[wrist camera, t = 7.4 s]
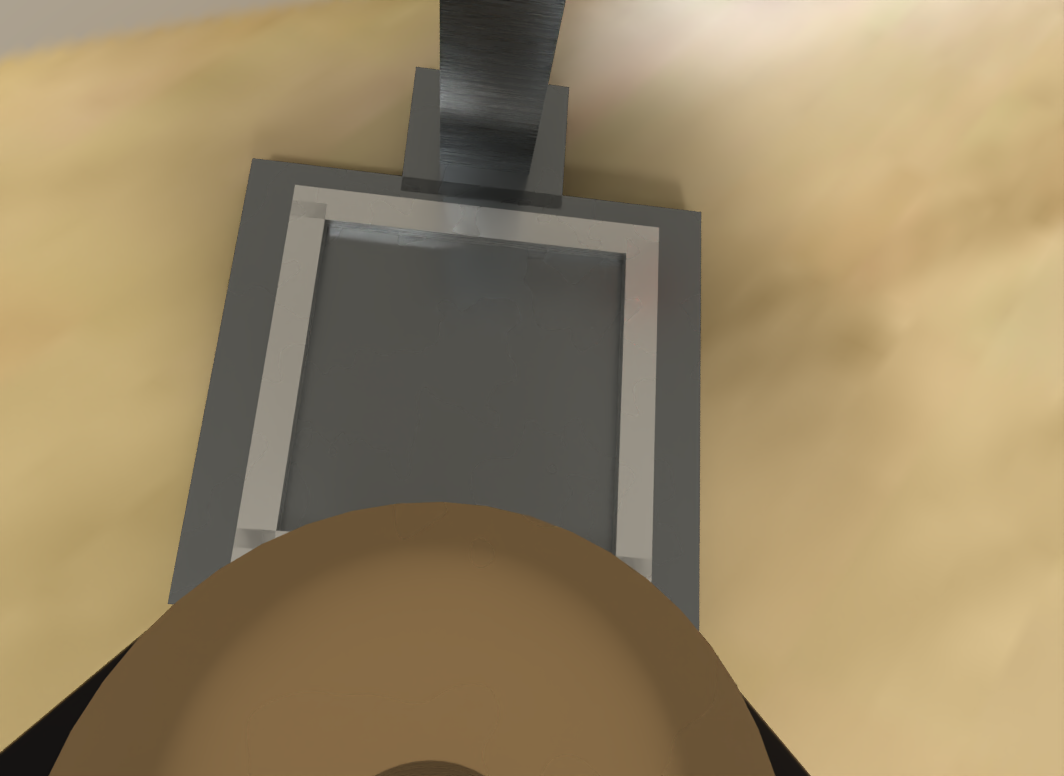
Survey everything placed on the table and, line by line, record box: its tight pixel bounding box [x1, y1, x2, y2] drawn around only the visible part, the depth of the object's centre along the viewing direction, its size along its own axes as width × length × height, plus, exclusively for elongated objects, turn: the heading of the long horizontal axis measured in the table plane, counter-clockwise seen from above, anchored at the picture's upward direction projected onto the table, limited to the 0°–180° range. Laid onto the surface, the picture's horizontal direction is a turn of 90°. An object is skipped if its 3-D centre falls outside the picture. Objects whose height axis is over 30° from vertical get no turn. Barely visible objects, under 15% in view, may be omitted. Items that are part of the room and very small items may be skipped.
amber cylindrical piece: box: [49, 502, 775, 776], centre depth 9 cm, size 7×7×12 cm
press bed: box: [168, 0, 701, 631], centre depth 17 cm, size 17×16×13 cm
